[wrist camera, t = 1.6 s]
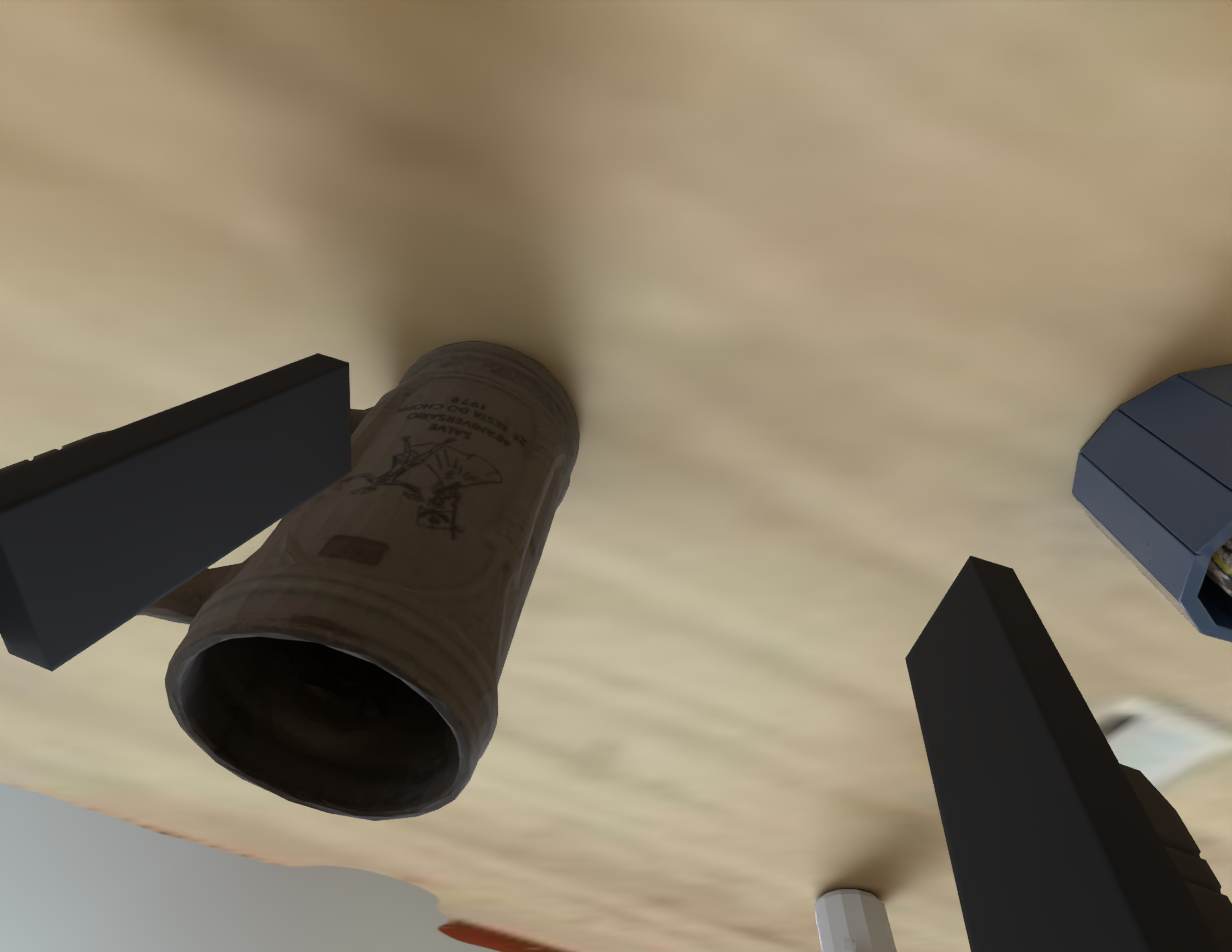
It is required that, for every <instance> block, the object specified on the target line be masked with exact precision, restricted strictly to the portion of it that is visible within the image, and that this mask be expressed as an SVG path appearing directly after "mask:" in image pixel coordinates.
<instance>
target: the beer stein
mask: <svg viewBox="0 0 1232 952" xmlns="http://www.w3.org/2000/svg"><path fill="white" fill-rule="evenodd" d="M350 424H351V463H352V471H351V472H350V473H348V474H347V475H345V476H344V477H342V478H341V479H339V480H338V481H336V482H335V483H333V484H332V485H330V486H329V487H327V488H326V489H324V490H323V491H321V492H320V493H318V494H317V495H315V496H314V497H312V498H311V499H309V500H308V501H306V502H305V503H303V504H302V505H300V506H299V507H297V508H296V509H294V510H293V511H291V512H290V513H288V514H287V515H285V516H284V517H283V518H282V519H281V521H280V522H279V524H278V525H277V527H276V528H275V530H274V531H273V532H272V533H271V535H270V536H269V537H268V539H267V540H266V541H265V542H264V544H263V545H262V546H261V548H260V549H258V550H257V551H256V552H255V553H254V554H252V555H251V556H250V557H249V558H247V559H246V560H245V561H244V562H243V563H240V564H234V565H229V566H223V567H218V568H212V569H208V568H206V569H205V570H203V571H202V572H200V573H199V574H197V575H196V576H194V577H193V578H191V579H190V580H188V581H187V582H185V583H184V584H182V585H181V586H179V587H178V588H176V589H175V590H173V591H172V592H170V593H169V594H167V595H166V596H164V597H163V598H161V599H160V600H158V601H157V602H155V603H154V604H152V605H151V606H149V607H148V608H146V609H145V610H143V611H142V612H140V613H139V614H137V615H147V616H151V617H155V618H160V619H164V620H168V621H172V622H178V623H185V624H190V626H189V630H188V633H187V635H186V636H185V638H184V639H183V641H182V642H181V644H180V645H179V647H178V648H177V649H176V651H175V653H174V655H173V657H172V658H171V660H170V662H169V666H168V670H167V673H166V677H165V687H166V692H167V696H168V701H169V706H170V709H171V710H172V712H173V714H174V716H175V718H176V719H177V721H178V723H179V725H180V727H181V728H182V729H183V730H184V731H185V732H186V733H187V734H188V736H189V737H190V738H191V739H192V740H193V741H194V742H195V743H196V744H197V745H198V746H199V747H200V748H202V749H203V750H204V751H205V752H206V753H207V754H208V755H209V756H210V757H211V758H212V759H213V760H214V761H215V762H217V763H218V764H220V765H221V766H223V767H224V768H226V769H227V770H229V771H230V772H232V773H234V774H235V775H237V776H238V777H240V778H241V779H243V780H245V781H248V782H250V783H252V784H254V785H256V786H259V787H261V788H263V789H265V790H267V791H270V792H272V793H274V794H276V795H278V796H280V797H282V798H284V799H286V800H288V801H291V802H294V803H297V804H301V805H304V806H307V807H311V808H314V809H317V810H321V811H324V812H327V813H331V814H337V815H343V816H349V817H355V818H361V819H367V820H373V821H378V820H390V819H400V818H408V817H416V816H420V815H423V814H426V813H429V812H431V811H434V810H437V809H439V808H441V807H443V806H445V805H446V804H448V803H450V802H452V801H453V800H455V799H456V797H457V796H458V795H459V794H460V793H461V791H462V790H463V789H464V788H465V786H466V785H467V783H468V782H469V781H470V779H471V777H472V774H473V772H474V770H475V767H476V765H477V763H478V760H479V759H480V758H481V757H482V755H483V754H484V752H485V750H486V748H487V746H488V744H489V742H490V740H491V739H492V736H493V733H494V730H495V727H496V724H497V717H498V691H497V686H498V682H499V679H500V676H501V673H502V670H503V667H504V664H505V660H506V657H507V654H508V651H509V648H510V645H511V642H512V639H513V636H514V633H515V629H516V626H517V623H518V620H519V617H520V614H521V611H522V608H523V605H524V602H525V599H526V597H527V594H528V591H529V588H530V585H531V583H532V580H533V577H534V574H535V571H536V569H537V566H538V563H539V560H540V558H541V555H542V552H543V548H544V545H545V542H546V539H547V536H548V533H549V530H550V527H551V524H552V520H553V517H554V514H555V511H556V509H557V507H558V506H559V505H560V503H561V502H562V500H563V498H564V495H565V493H566V491H567V489H568V486H569V482H570V474H571V472H572V470H573V467H574V465H575V462H576V458H577V454H578V449H579V429H578V424H577V419H576V415H575V411H574V409H573V407H572V405H571V403H570V401H569V399H568V397H567V395H566V393H565V391H564V390H563V388H562V386H561V385H560V384H559V383H558V382H557V381H556V380H555V379H554V378H553V377H552V375H551V374H550V373H549V372H548V371H547V370H546V369H544V368H543V367H542V366H540V365H539V364H537V363H536V362H535V361H533V360H532V359H530V358H528V357H526V356H524V355H522V354H520V353H518V352H516V351H514V350H512V349H510V348H508V347H503V346H498V345H493V344H488V343H483V342H462V343H456V344H451V345H445V346H442V347H439V348H437V349H435V350H433V351H432V352H430V353H428V354H426V355H424V356H423V357H421V358H420V359H419V360H418V361H417V362H416V363H415V364H414V365H413V366H412V367H410V368H409V370H408V371H407V372H406V374H405V375H404V377H403V378H402V380H401V381H400V383H399V386H398V387H396V388H395V389H393V390H391V391H390V392H388V393H386V394H385V395H384V396H382V398H381V399H380V400H379V401H378V403H377V404H376V405H375V406H374V407H371V408H368V409H366V410H357V409H350Z"/></svg>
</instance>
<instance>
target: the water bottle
mask: <svg viewBox="0 0 1232 952" xmlns="http://www.w3.org/2000/svg"><path fill="white" fill-rule="evenodd" d="M815 916H816V922H817V927H818V933H819V939H820V944H821V950H822V952H897V951H896V947H895V943H894V940H893V936H892V932H891V928H890V924H889V921H888V917H887V913H886V909H885V906H884V904H883V903H882V902H881V901H880V900H879V899H878V898H877V897H875V896H874V895H873V894H872V893H868V892H865V891H861V890H857V889H839V890H835V891H831V892H828V893H826V894H824V895H823V896H822V897H820V898H819V899H818V900H817V901H816V904H815Z"/></svg>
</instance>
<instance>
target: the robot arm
mask: <svg viewBox="0 0 1232 952" xmlns="http://www.w3.org/2000/svg"><path fill="white" fill-rule="evenodd" d="M351 471H352V463H351V424H350V384H349V363H348V362H344V361H341V360H338V359H335V358H332V357H328V356H325V355H322V354H319V353H317V354H315V355H312V356H309V357H307V358H304V359H301V360H299V361H296V362H293V363H291V364H288V365H285V366H283V367H280V368H277V369H275V370H272V371H269V372H267V373H264V374H261V375H259V376H256V377H253V378H251V379H248V380H245V381H243V382H240V383H237V384H235V385H232V386H229V387H227V388H224V389H221V390H219V391H216V392H213V393H211V394H208V395H205V396H203V397H200V398H197V399H195V400H192V401H189V402H187V403H184V404H181V405H179V406H176V407H173V408H171V409H168V410H165V411H163V412H160V413H157V414H155V415H152V416H149V417H147V418H144V419H141V420H139V421H136V422H133V423H131V424H128V425H125V426H123V427H120V428H117V429H115V430H112V431H107V432H102V433H97V434H94V435H91V436H88V437H86V438H83V439H80V440H78V441H75V442H72V443H70V444H67V445H64V446H62V449H61V450H57V449H53V450H51V451H48V452H45V453H43V454H40V455H37V456H34V459H33V460H32V461H29V460H24V461H21V462H18V463H16V464H13V465H10V466H7V467H5V468H2V469H0V634H1V636H2V638H3V641H4V643H5V645H6V647H7V650H8V652H9V653H10V654H12V655H14V656H17V657H19V658H22V659H24V660H26V661H29V662H31V663H33V664H36V665H38V666H40V667H43V668H45V669H48V670H50V671H53V670H55V669H56V668H58V667H59V666H61V665H62V664H64V663H65V662H67V661H68V660H70V659H71V658H73V657H74V656H76V655H77V654H79V653H80V652H82V651H83V650H85V649H86V648H88V647H89V646H91V645H92V644H94V643H95V642H97V641H98V640H100V639H101V638H103V637H104V636H106V635H107V634H109V633H110V632H112V631H113V630H115V629H116V628H118V627H119V626H121V625H122V624H124V623H125V622H127V621H128V620H130V619H131V618H133V617H134V616H136V615H137V614H139V613H140V612H142V611H143V610H145V609H146V608H148V607H149V606H151V605H152V604H154V603H155V602H157V601H158V600H160V599H161V598H163V597H164V596H166V595H167V594H169V593H170V592H172V591H173V590H175V589H176V588H178V587H179V586H181V585H182V584H184V583H185V582H187V581H188V580H190V579H191V578H193V577H194V576H196V575H197V574H199V573H200V572H202V571H203V570H205V569H206V568H208V567H209V566H211V565H212V564H214V563H215V562H217V561H218V560H220V559H221V558H223V557H224V556H226V555H227V554H229V553H230V552H232V551H233V550H235V549H236V548H238V547H239V546H241V545H242V544H244V543H245V542H247V541H248V540H250V539H251V538H253V537H254V536H256V535H257V534H259V533H260V532H262V531H263V530H265V529H266V528H268V527H269V526H271V525H272V524H273V523H275V522H276V521H278V520H279V519H281V518H282V517H284V516H285V515H287V514H288V513H290V512H291V511H293V510H294V509H296V508H297V507H299V506H300V505H302V504H303V503H305V502H306V501H308V500H309V499H311V498H312V497H314V496H315V495H317V494H318V493H320V492H321V491H323V490H324V489H326V488H327V487H329V486H330V485H332V484H333V483H335V482H336V481H338V480H339V479H341V478H342V477H344V476H345V475H347V474H348V473H350V472H351ZM905 659H906V663H907V668H908V672H909V677H910V681H911V686H912V690H913V694H914V699H915V703H916V708H917V712H918V717H919V721H920V726H921V730H922V735H923V739H924V744H925V748H926V752H927V757H928V761H929V766H930V770H931V775H932V779H933V784H934V788H935V793H936V797H937V801H938V806H939V810H940V815H941V819H942V824H943V828H944V833H945V837H946V842H947V846H948V851H949V855H950V859H951V864H952V868H953V873H954V877H955V882H956V886H957V891H958V895H959V900H960V904H961V909H962V913H963V917H964V922H965V926H966V931H967V935H968V940H969V944H970V949H971V952H1232V903H1231V902H1230V900H1229V898H1228V897H1227V896H1226V895H1223V894H1221V892H1220V888H1221V885H1220V883H1219V882H1218V880H1217V878H1216V877H1215V875H1214V873H1213V872H1212V870H1211V868H1210V867H1209V865H1208V863H1207V861H1206V860H1204V859H1201V858H1200V856H1199V854H1200V852H1201V851H1200V850H1199V848H1198V846H1197V845H1196V843H1195V841H1194V840H1193V838H1192V836H1191V835H1190V833H1189V831H1188V830H1187V828H1186V826H1185V825H1184V823H1183V821H1182V820H1181V818H1180V816H1179V815H1178V813H1177V811H1176V810H1175V809H1174V808H1173V807H1172V805H1171V804H1170V803H1169V802H1168V801H1167V800H1166V799H1165V798H1164V797H1163V796H1162V794H1161V793H1160V792H1159V791H1158V790H1157V789H1156V788H1155V787H1154V786H1153V785H1152V784H1151V782H1150V781H1149V780H1148V779H1147V778H1146V777H1145V776H1144V775H1143V774H1142V773H1141V771H1139V770H1136V769H1133V768H1130V767H1128V766H1125V765H1122V764H1119V762H1118V760H1117V758H1116V757H1115V755H1114V753H1113V751H1112V749H1111V747H1110V746H1109V744H1108V742H1107V740H1106V738H1105V736H1104V735H1103V733H1102V731H1101V729H1100V727H1099V725H1098V724H1097V722H1096V720H1095V718H1094V716H1093V714H1092V713H1091V711H1090V709H1089V707H1088V705H1087V703H1086V702H1085V700H1084V698H1083V696H1082V694H1081V693H1080V691H1079V689H1078V687H1077V685H1076V683H1075V682H1074V680H1073V678H1072V676H1071V674H1070V672H1069V671H1068V669H1067V667H1066V665H1065V663H1064V661H1063V660H1062V658H1061V656H1060V654H1059V652H1058V650H1057V649H1056V647H1055V645H1054V643H1053V641H1052V640H1051V638H1050V636H1049V634H1048V632H1047V630H1046V629H1045V627H1044V625H1043V623H1042V621H1041V619H1040V618H1039V616H1038V614H1037V612H1036V610H1035V608H1034V607H1033V605H1032V603H1031V601H1030V599H1029V597H1028V596H1027V594H1026V592H1025V590H1024V588H1023V587H1022V585H1021V583H1020V581H1019V579H1018V577H1017V576H1016V574H1015V572H1014V570H1013V569H1012V568H1008V567H1005V566H1002V565H999V564H996V563H992V562H989V561H986V560H983V559H979V558H976V557H973V556H970V557H969V559H968V560H967V562H966V563H965V565H964V567H963V568H962V570H961V571H960V573H959V574H958V576H957V578H956V579H955V581H954V582H953V584H952V585H951V587H950V589H949V590H948V592H947V593H946V595H945V597H944V598H943V600H942V601H941V603H940V604H939V606H938V608H937V609H936V611H935V612H934V614H933V616H932V617H931V619H930V620H929V622H928V623H927V625H926V627H925V628H924V630H923V631H922V633H921V635H920V636H919V638H918V639H917V641H916V642H915V644H914V646H913V647H912V649H911V650H910V652H909V654H908V655H907V657H906V658H905Z"/></svg>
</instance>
